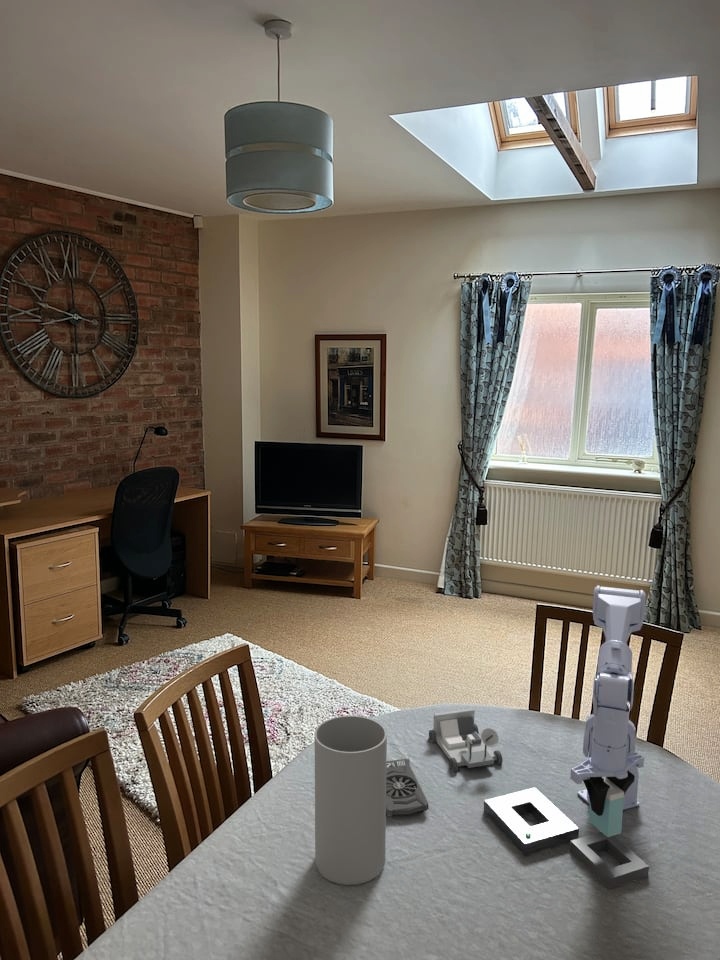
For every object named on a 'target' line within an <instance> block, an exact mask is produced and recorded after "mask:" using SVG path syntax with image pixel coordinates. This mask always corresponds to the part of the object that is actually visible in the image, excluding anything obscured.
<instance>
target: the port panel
mask: <svg viewBox="0 0 720 960" xmlns="http://www.w3.org/2000/svg"><path fill="white" fill-rule="evenodd" d="M483 813H484V814H485V815H486V816H487V817H488V818H489V819H490V820H491V822H492V823H493V824H494V825H495V826H496V827H497V828H498V829H499V830H500V831H501V832H502V834H504V836H506V837H505V838H507V839H508V841H510V842H511V844H513V846H514V847H515V848H516V849H517V850H518V851H519V852H520V853H521V855H522V856H524V857H527V856H530V855H533V854H536V853H540V852H543V851H547V850H551V849H554V848H557V847H560V846H564V845H568V844H570V842H571V840H575V839H578V838H580V835H579V834H580V828H579V826H577V824H575V823H574V822H573V821H572V820H571V819H570V818H569V817H567V816H566V814H564V813H563V812H562V811H561V810H560V809H559V808H558V807H557V806H555V805H554V803H552V801H550V799H548V798H547V797H546V796H545V795H544V794H543V793H542V792H540V791H539V789H537V787H531V788H527V789H522V790H519V791H516V792H515V791H514V792H512V793H507V794H504V795H499V796H495V797H490V798H486V799H483ZM528 814H530V815H531V817H533V818H534V819H535V821H537V822H538V823H539V824H535V825H529V824H528V822H526V821H525V819H524V818H522V816H524V815H528Z"/></svg>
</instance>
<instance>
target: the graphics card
mask: <svg viewBox="0 0 720 960" xmlns="http://www.w3.org/2000/svg"><path fill="white" fill-rule="evenodd" d="M389 764H390V765H389ZM393 764H394V765H393ZM387 766H388V767H387ZM421 787H422V786H421V785H420V783H419V781H418V779H417V777H416V775H415V772H414V771H413V769H412V767H411V765H410V758H409V757H408V756H407V758H401V759H393V760H386V815H387V816H389V817H393V815H411V814H416V813H417V812H420V811H421V812H422V811H425V812H427V811H428V810H429V808H430V807H429V801H428V800H427V797H426V795H425V794H424V791H423V789H422V788H421Z"/></svg>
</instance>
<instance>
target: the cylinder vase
mask: <svg viewBox="0 0 720 960" xmlns="http://www.w3.org/2000/svg"><path fill="white" fill-rule="evenodd" d="M387 735H388V733H387V729H386V728H385V727H384V725H383V724H381V723H380V722H379V721H377V720H375V719H373V718H370V717H366V716H361V715H340V716H335V717H332V718H328V719H327V720H324V721H323V722H321V723H320V724H319V725H318V726H317V727H316V729H315V730H314V848H315V849H314V854H315V855H314V859H315V860H314V861H315V867H316V868H317V870H318V872H319V873H320V874H321V875H322V876H323V877H324V878H325V879H327V880H329V881H330V882H333V883H335V884H338V885H344V886H357V885H361V884H366V883H368V882H370V881H372V880H374V879H375V878H377V876H378V875H380V873H381V872H382V871H383V869H384V867H385V863H386V838H387V836H386V833H387V832H386V827H387V825H386V823H387V822H386V821H387V817H386V815H387V813H386V784H387V783H386V764H387V763H386V761H387V759H388V758H387V754H388V753H387V749H388V748H387V746H388V744H387V743H388V740H387V739H388V736H387Z"/></svg>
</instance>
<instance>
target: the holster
mask: <svg viewBox="0 0 720 960" xmlns="http://www.w3.org/2000/svg"><path fill="white" fill-rule="evenodd" d="M603 850H607V851H608V852H609V853H610V855H612V856H613V857H614V858H615V859H616V860H618V861H619V862H620V863H621V864H620V865H616V866H614V867H610V865H609V864H608V863H607V862H605V861H604V860H603V859H602V858H601V857H600V856H599V855H598V854H597V853H596V852H600V851H603ZM569 851H570V852H571V853H572V854H573V855H574V856H575V857H576V858H577V859H578V860H579V861H580V862H581V863H582V864H583V865H584V866H585V867H586V868H587V869H588V870H589V871H590V872H591V873H592V874H593V875H594V876H595V877H596V878H597V879H598V880H599V881H600V882H601V883H602V884H603V885H604V886H605V887H606V888H607V889H608V890H611V889H614V888H616V887H620V886H623V885H626V884H629V883H632V882H636V881H638V880H641V879H645V878H647V877H649V872H650V866H649V865H648V864H647V863H646V862H645V861H644V860H643V859H641V858H640V857H639V856H638V855H637V854H636V853H635V852H634V851H632V849H630V848H629V846H627V845H626V844H625V843H624V842H622V841H621V840H620V839H619V838H618V837H617V836H616V835H613V836H610V837H607V836H605V835H604V834H603V833H602V832H601V831H599V832H597V833H593V834H589V835H584V836H581V837H579V838H578V839H575V840H571V842H570V843H569Z"/></svg>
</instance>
